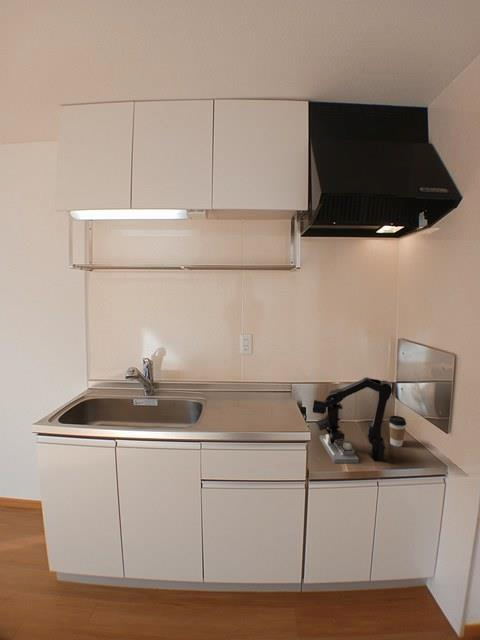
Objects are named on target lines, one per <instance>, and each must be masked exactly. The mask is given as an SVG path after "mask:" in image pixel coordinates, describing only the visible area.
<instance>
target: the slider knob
mask: <svg viewBox="0 0 480 640" xmlns="http://www.w3.org/2000/svg"><path fill="white" fill-rule="evenodd" d="M325 435H326V442H327V443H328V444H331V442H330V438H329V434H328V433H327V434H325ZM333 444H334V443H333Z"/></svg>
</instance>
